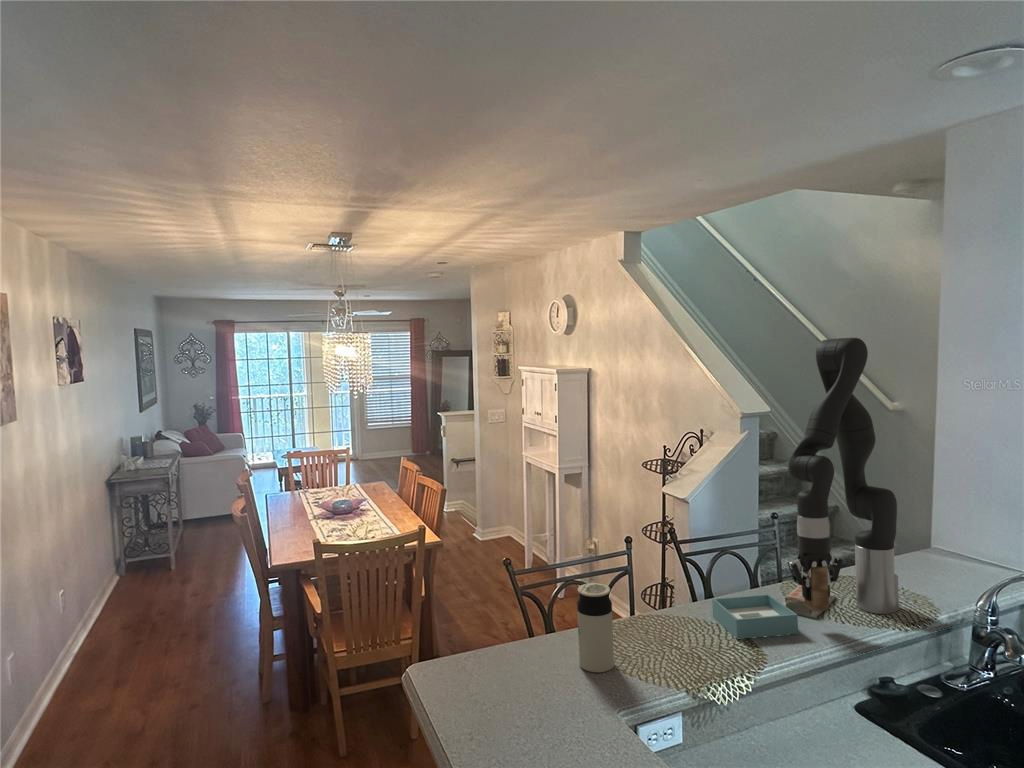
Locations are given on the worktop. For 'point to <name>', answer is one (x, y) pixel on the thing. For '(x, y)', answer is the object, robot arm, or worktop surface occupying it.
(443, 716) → the worktop surface
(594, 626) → the travel mug
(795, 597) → the packaged product
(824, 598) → the brown wooden block
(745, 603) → the walled box
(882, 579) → the robot arm
